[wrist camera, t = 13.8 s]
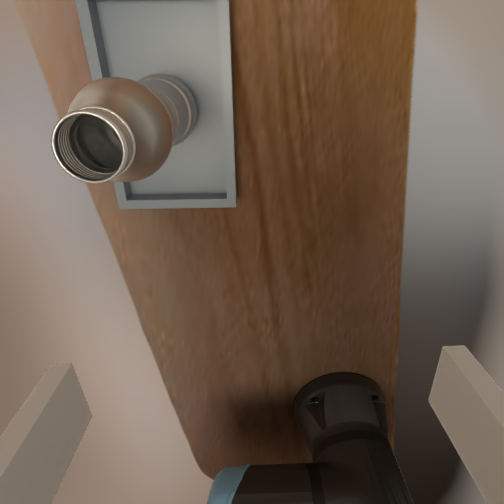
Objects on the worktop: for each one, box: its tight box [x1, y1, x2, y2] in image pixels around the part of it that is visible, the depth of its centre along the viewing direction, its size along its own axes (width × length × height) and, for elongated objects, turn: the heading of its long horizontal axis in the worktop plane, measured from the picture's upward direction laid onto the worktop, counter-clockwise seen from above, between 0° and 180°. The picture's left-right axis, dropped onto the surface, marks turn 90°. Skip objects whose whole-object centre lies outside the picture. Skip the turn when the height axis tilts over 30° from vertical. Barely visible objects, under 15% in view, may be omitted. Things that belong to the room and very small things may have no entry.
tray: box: [75, 0, 237, 209], centre depth 34 cm, size 20×13×3 cm, turn 1°
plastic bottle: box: [51, 74, 197, 184], centre depth 26 cm, size 6×7×20 cm
